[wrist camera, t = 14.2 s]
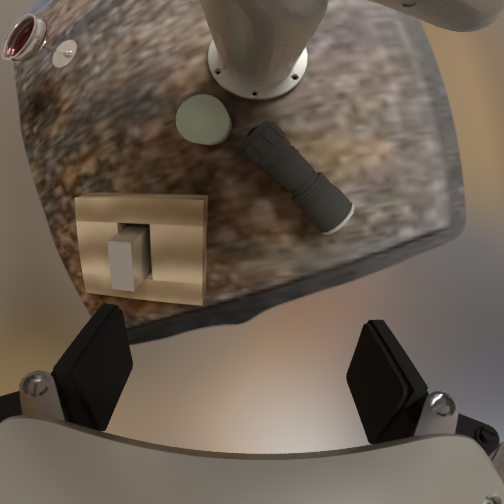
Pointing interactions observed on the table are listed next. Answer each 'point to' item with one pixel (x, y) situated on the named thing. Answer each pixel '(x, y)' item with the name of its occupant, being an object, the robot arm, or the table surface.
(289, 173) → the flashlight
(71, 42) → the wineglass
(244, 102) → the table surface
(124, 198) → the socket block
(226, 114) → the round bit
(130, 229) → the block
